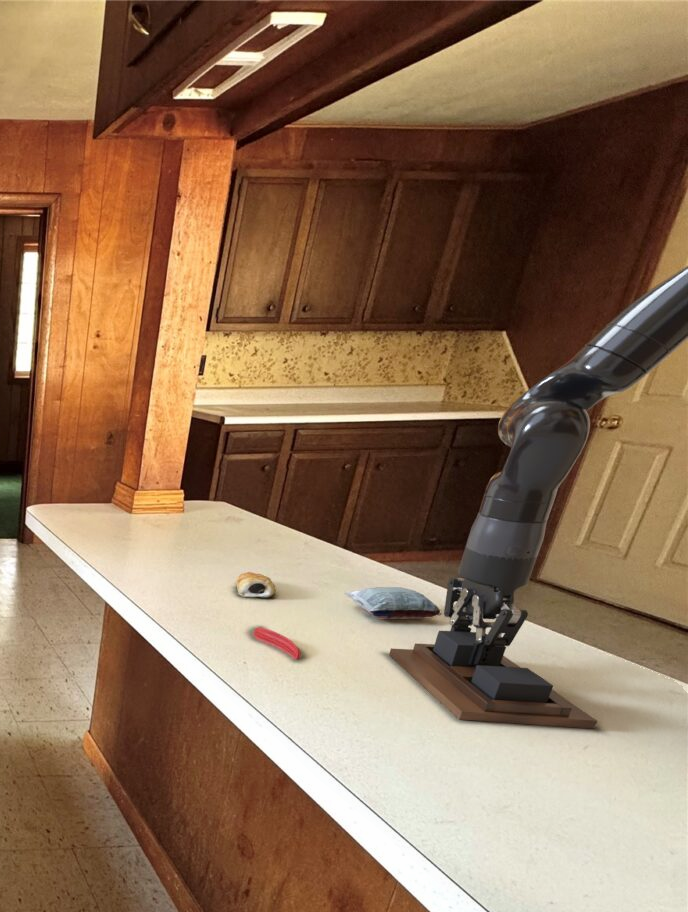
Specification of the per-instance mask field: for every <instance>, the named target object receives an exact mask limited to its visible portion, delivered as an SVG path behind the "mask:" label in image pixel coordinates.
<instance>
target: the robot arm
mask: <svg viewBox="0 0 688 912" xmlns="http://www.w3.org/2000/svg"><path fill="white" fill-rule="evenodd" d="M687 340H688V265H686V266H685V267H683V268H682V269H680V270H679V271H677V272H676V273H674V274H672V275H671V276H670V277H668V278H666V279H665V280H663V281H661V282H660V283H658V284H657V285H655V286H654V287H652V288H651V289H650V290H648V291H646V292H645V293H643V294H642V295H641V296H639V297H638V298H637V299H635V300H634V301H632V302H631V303H630V304H629V305H627V306H626V307H625V308H624V309H622V310H621V311H620V312H618V314H617V315H615V317H613V318H612V319H611V320H609V322H608V323H606V325H605V326H604V327H603V328H601V329H600V330H599V331H598V332H597V333H596V334H595V335H594V336H593V337H592V338H590V339H589V341H587V342H586V344H585V345H583V346H582V347H581V348H580V349H579V350H578V351H577V352H576V354H575V355H574V356H572V357H571V358H570V359H569V360H568V361H567V362H565V363H564V364H562V365H561V366H559V367H558V368H556V369H555V370H554V371H552V372H551V373H549V374H548V375H547V376H545V377H543V378H542V379H541V380H540V381H538V382H537V383H536V384H534V385H533V386H532V387H530V388H529V389H528V390H526V391H525V392H524V393H522V394H521V395H520V396H519V397H518V398H517V399H515V400H514V402H512V403H511V404H510V405H509V407H507V409H506V410H505V411H504V412H503V414H502V416H501V417H500V419H499V422H498V425H497V434H498V437H499V439H500V440H501V442H502V443H504V444H505V445H506V446H507V447H510V449H509V450H510V451H509V453H508V456H507V458H506V461H505V463H504V465H503V467H502V469H501V471H499V472H497V473H495V474H493V476H492V477H490V479H489V481H488V483H487V485H486V487H485V490H484V494H483V496H482V499H481V503H480V507H479V510H478V513H477V515H476V518H475V520H474V522H473V524H472V526H471V527H470V531H469V534H468V537H467V540H466V543H465V547H464V550H463V553H462V557H461V560H460V564H459V566H458V569H457V574H458V575H459V577H450V578H449V579H448V581H447V587H446V588H447V589H446V595H445V602H444V609H443V615H444V617H445V618H449V624H450V625H451V627H450V630H449V631H459V632H472V628H471V627H472V626H473V627H474V628H475V632H476V639H475V640H476V642H474V644H473V648H472V651H471V654H470V657H469V660H468V664H469V665H470V666H471V667H476V666H477V665H482V666H488V664H489V663H490V659H491V657H492V654H493V651H494V648H495V647H496V646H505V647H510V646H511V645H512V643H513V641H514V639H515V637H516V636H517V634H518V633H519V631H520V630H521V628H522V626H523V624H524V623H525V621H526V620H527V618H528V615H529V613H528V611H527V610H526V609H518V608H517V607H516V606H515V605H514V603H515V591H516V590H518V589H520V588H522V587H525V586H526V585H528V583H529V581H530V579H531V575H532V573H533V570H534V567H535V564H536V562H537V559H538V555H539V554H540V550H541V547H542V545H543V542H544V538H545V534H546V527H547V524H548V520H549V517H550V514H551V511H552V508H553V505H554V503H555V499H556V497H557V493H558V489H559V487H560V486H561V484H562V483H563V482H564V480H566V478H567V476H568V475H569V473H570V471H571V470H572V468H573V467H574V465H575V464H576V461H577V460H578V459H579V457H580V455H581V453H582V451H583V450H584V448H585V445H586V443H587V441H588V437H589V434H590V427H591V419H590V416H589V413H588V412H587V411H589V410H590V409H591V408H593V407H594V406H595V405H597V404H598V403H599V402H601V401H603V400H604V399H605V398H607V397H610V396H614V395H617V394H618V395H619V394H621V393H624V392H626V391H628V390H630V389H631V388H633V387H634V386H635V385H636V384H638V383H639V382H641V380H643V379H644V378H645V377H647V375H648V374H649V373H651V372H652V371H653V370H654V369H655V368H656V367H658V366H659V365H660V364H661V363H662V362H664V361H665V359H667V358H669V356H670V355H671V354H673V353H674V352H675V351H676V350H677V349H678V348H679V347H680V346H681V345H683V344H684V343H685V342H686V341H687ZM455 602H456V603H455ZM484 620H494V621H484ZM488 628H490V629H489V631H488V632H487V633H486V631H487V629H488ZM485 633H486V634H487V636H485ZM502 634H503V635H502Z"/></svg>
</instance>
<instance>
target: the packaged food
mask: <svg viewBox="0 0 688 912" xmlns="http://www.w3.org/2000/svg"><path fill="white" fill-rule="evenodd" d="M344 595H345V596H346V597H347V598H350V599H351V600H352V601H353V602H354V603H355V604H356V605H358V606H359V607H361V608H362V609H364V610H365V611H367V612H368V613H369V614H370V615H371V616H373V617H374V618H375V619H377V620H415V619H417V620H418V619H419V620H420V619H428V618H434V617H437V616H441V615H442V612H441V610H440V608H439V607H438V606H437V604H435V603H434V602H433V601H432V600H430V598H428V597H427V596H425V595H424V594H422V593H420V592H418V591H416V590H414V589H409V588H406V587H401V586H375V587H367V588H363V589H358V590H354V591H351V592H349V591H347V590H345V591H344Z"/></svg>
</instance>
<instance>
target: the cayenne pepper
mask: <svg viewBox="0 0 688 912" xmlns="http://www.w3.org/2000/svg"><path fill="white" fill-rule="evenodd" d="M253 636H254V638H256V640H258V641H259V642H262V643H264V644H267V645H270V646H273V647H275V648H277V649H279V650H281V651H282V652H285V653H286V654H288V655H290V656H291V657H292V658H293V659H294V660H296V661H298V660H300V659H301V656H302V651H301V650H300V648H299V647H298V646H297V645H296V644H295V643H294V642H293V641H292V640H291V639H290V638H288V637H287V636H284V635H283V634H281V633H279V632H277V631H275V630H272V629H268V628H264V627H261V626H259V627H257V628H255V629H254V632H253Z"/></svg>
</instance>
